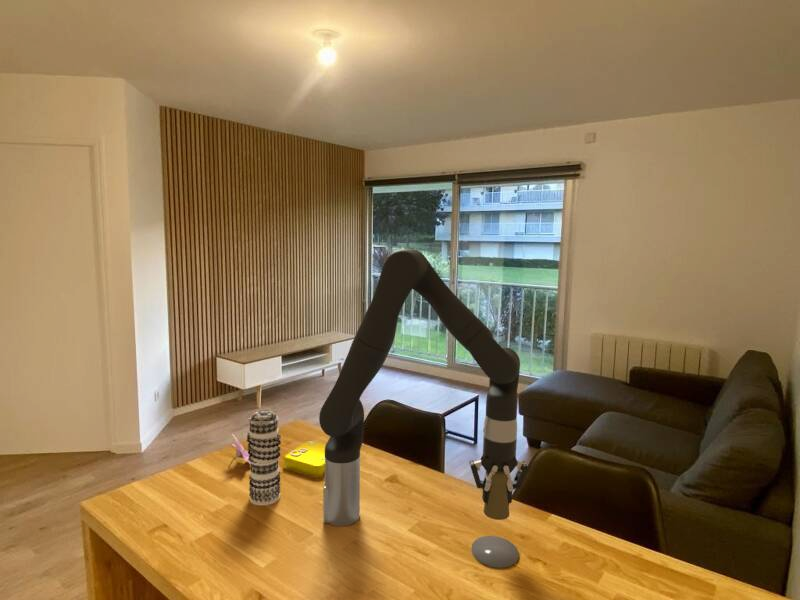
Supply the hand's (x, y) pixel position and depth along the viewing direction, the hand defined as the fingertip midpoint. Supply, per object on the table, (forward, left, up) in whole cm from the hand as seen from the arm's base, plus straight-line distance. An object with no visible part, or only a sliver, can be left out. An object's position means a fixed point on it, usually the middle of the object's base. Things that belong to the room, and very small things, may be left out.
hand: (496, 503), depth 112 cm
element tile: (-50, +44, -13) cm, 68 cm away
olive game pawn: (0, 0, -2) cm, 2 cm away
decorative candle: (-61, +23, -13) cm, 66 cm away
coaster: (0, 0, -13) cm, 13 cm away
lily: (-73, +42, -13) cm, 85 cm away
